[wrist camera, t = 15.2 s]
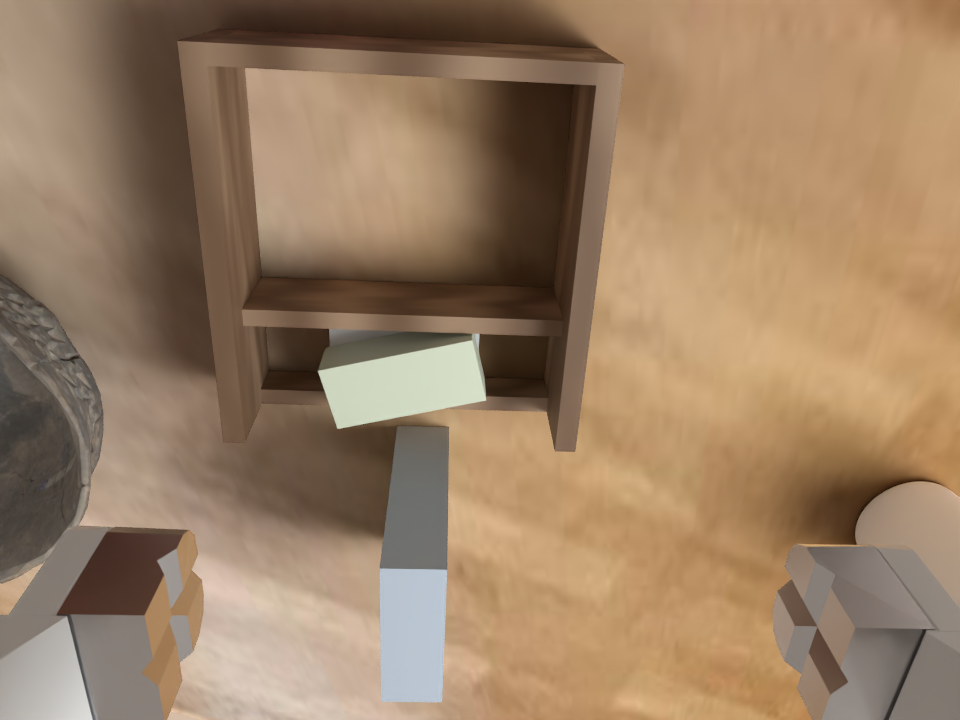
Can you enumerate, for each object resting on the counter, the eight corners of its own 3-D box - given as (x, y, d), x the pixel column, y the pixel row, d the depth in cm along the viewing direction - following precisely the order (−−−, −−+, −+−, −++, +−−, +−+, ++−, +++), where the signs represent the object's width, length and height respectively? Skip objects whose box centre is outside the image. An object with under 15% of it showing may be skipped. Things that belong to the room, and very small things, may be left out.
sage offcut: (471, 318, 47) (472, 340, 44) (484, 376, 49) (486, 400, 46) (325, 347, 47) (317, 370, 45) (343, 403, 49) (337, 429, 46)
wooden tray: (599, 48, 43) (624, 64, 36) (560, 393, 52) (575, 451, 46) (218, 28, 42) (177, 40, 35) (251, 383, 51) (223, 442, 45)
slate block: (448, 427, 53) (447, 569, 41) (444, 542, 58) (441, 702, 45) (397, 425, 53) (379, 568, 41) (397, 541, 58) (381, 701, 45)
